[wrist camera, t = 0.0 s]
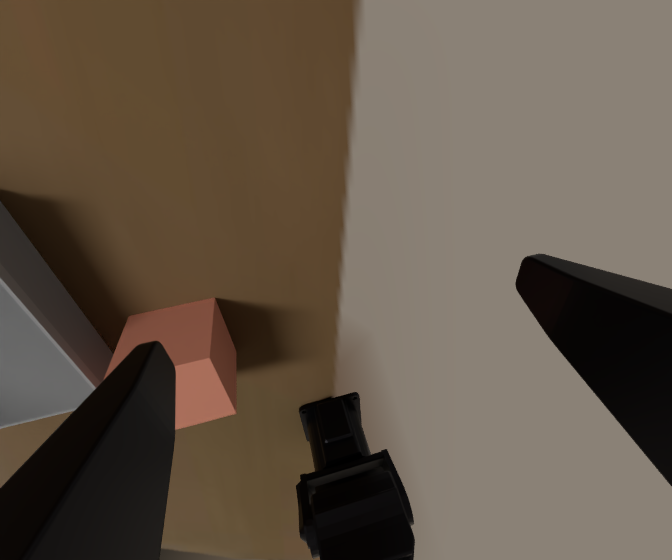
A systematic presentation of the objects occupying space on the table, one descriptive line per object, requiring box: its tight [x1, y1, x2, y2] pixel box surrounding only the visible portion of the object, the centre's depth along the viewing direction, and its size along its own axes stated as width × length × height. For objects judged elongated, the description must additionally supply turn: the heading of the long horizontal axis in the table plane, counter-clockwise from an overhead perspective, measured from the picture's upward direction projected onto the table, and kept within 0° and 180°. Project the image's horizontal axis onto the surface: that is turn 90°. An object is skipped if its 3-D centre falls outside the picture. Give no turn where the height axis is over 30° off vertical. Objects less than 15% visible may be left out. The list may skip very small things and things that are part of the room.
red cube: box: [104, 298, 236, 430], centre depth 23 cm, size 6×6×6 cm
